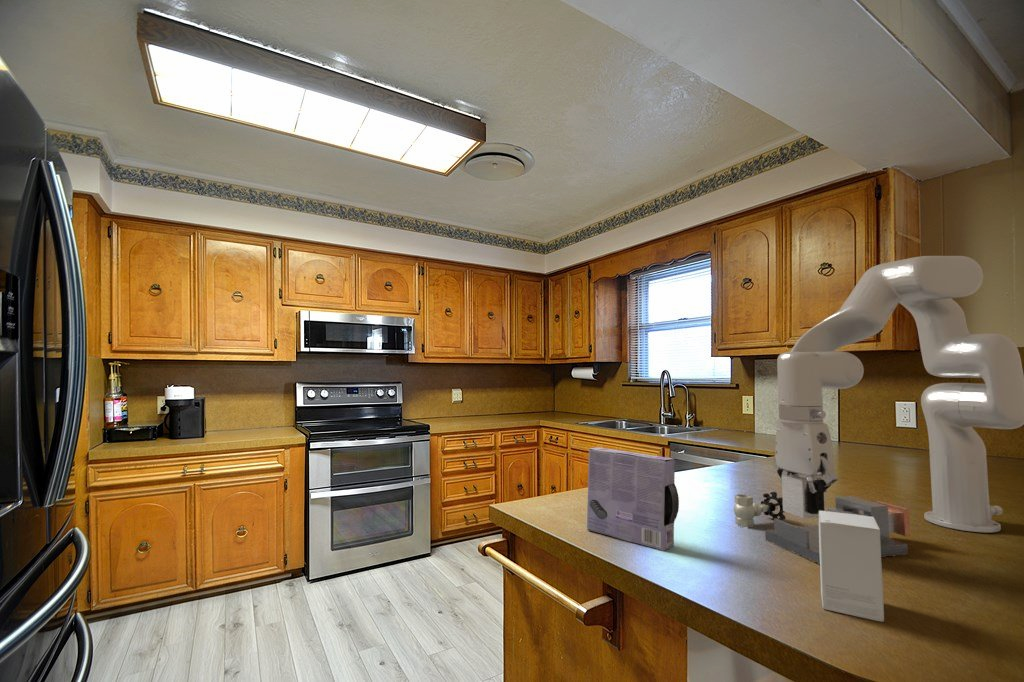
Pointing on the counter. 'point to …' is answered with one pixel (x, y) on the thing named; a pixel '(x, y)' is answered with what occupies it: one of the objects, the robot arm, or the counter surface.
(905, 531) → the ram
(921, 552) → the counter surface
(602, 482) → the cake pan box
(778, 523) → the press bed
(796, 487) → the block
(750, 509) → the valve
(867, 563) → the supplement box
